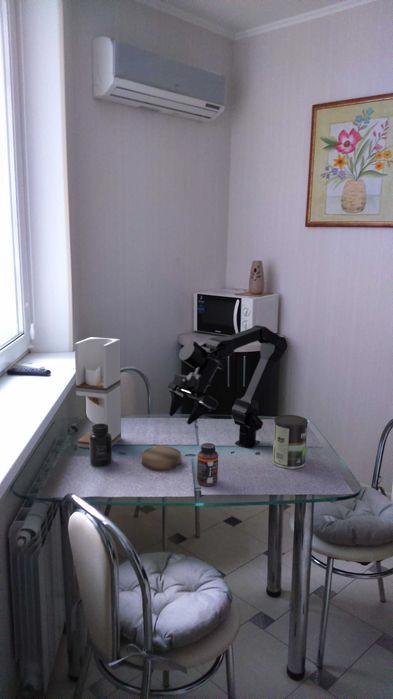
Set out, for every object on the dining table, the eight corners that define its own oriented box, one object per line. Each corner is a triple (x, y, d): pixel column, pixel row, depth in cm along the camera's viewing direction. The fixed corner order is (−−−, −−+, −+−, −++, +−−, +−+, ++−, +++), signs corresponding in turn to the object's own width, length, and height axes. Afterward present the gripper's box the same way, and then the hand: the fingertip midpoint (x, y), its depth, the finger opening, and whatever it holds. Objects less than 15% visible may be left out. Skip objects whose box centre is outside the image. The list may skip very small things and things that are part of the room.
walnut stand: (157, 452, 178) (157, 443, 178) (188, 460, 172) (188, 452, 171) (133, 464, 168) (133, 455, 168) (164, 474, 162) (164, 464, 161)
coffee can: (307, 458, 175) (309, 416, 172) (302, 471, 166) (305, 427, 163) (275, 453, 178) (277, 412, 176) (269, 466, 169) (271, 422, 166)
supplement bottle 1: (116, 460, 171) (115, 423, 169) (105, 468, 165) (104, 431, 162) (96, 456, 174) (95, 421, 171) (85, 465, 167) (84, 428, 165)
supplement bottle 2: (215, 488, 154) (216, 450, 151) (195, 485, 155) (195, 448, 153) (219, 478, 160) (220, 442, 157) (199, 476, 161) (199, 440, 158)
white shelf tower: (93, 434, 192) (90, 337, 185) (121, 438, 190) (120, 339, 182) (77, 446, 182) (74, 343, 174) (107, 450, 179) (105, 345, 171)
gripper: (168, 357, 171) (144, 401, 169) (205, 369, 157) (179, 417, 154) (191, 373, 178) (168, 415, 175) (228, 386, 164) (204, 432, 161)
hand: (179, 419), depth 166 cm, fingers open, 9 cm apart
